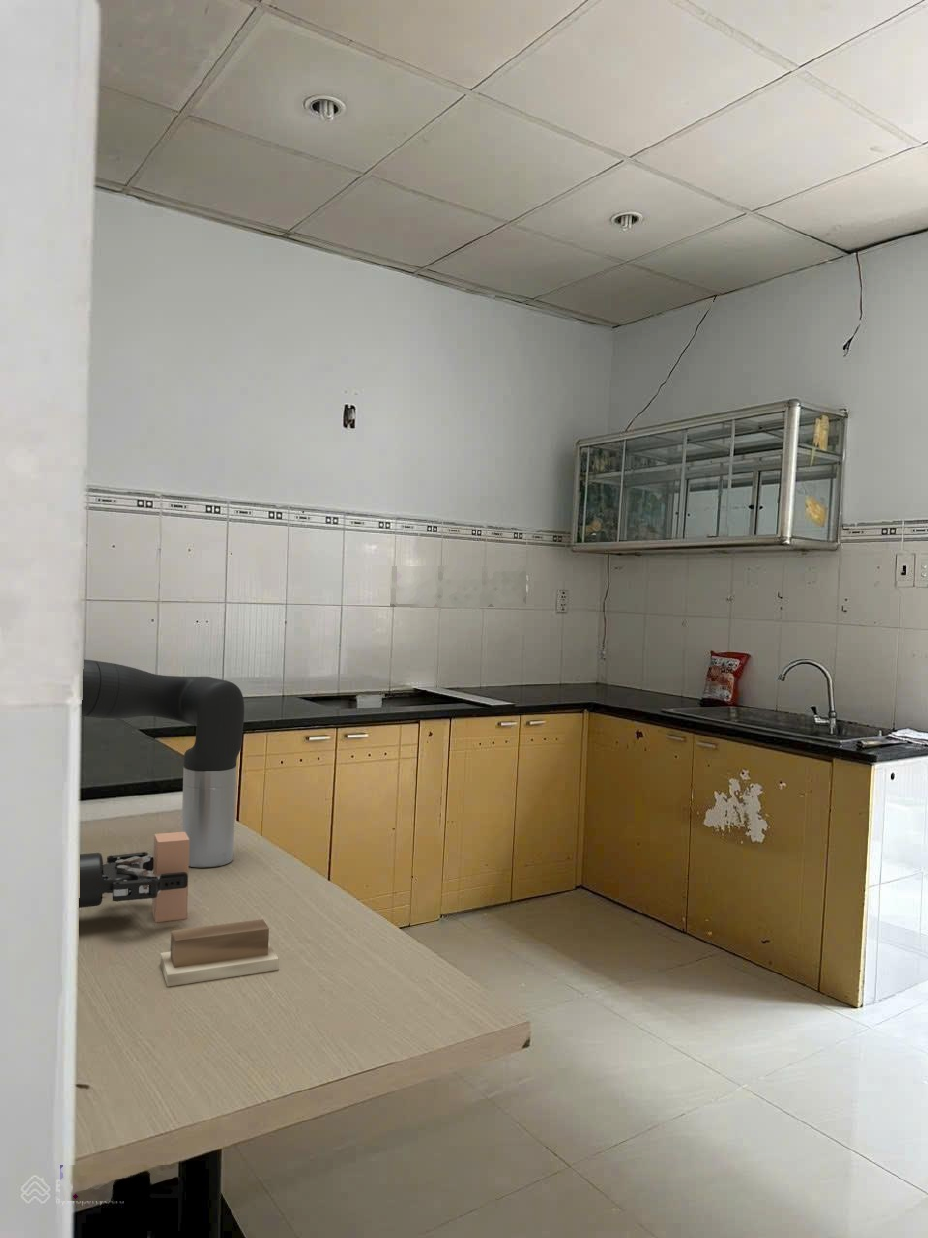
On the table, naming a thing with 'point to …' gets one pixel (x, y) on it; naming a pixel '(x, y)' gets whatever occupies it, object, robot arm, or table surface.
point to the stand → (218, 952)
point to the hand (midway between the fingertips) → (183, 870)
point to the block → (171, 859)
